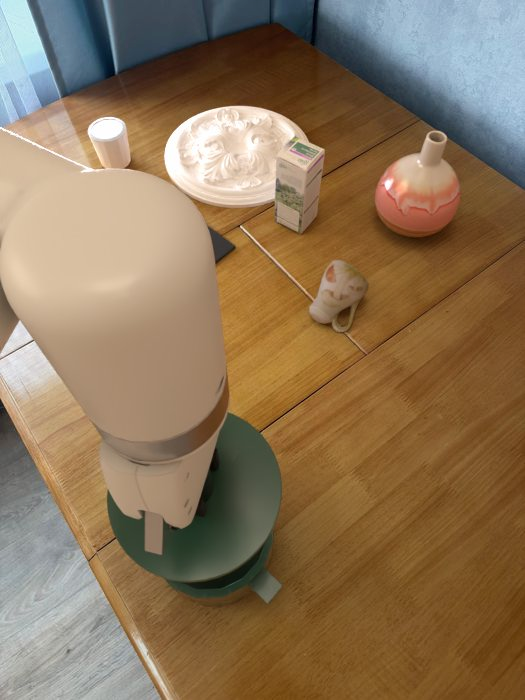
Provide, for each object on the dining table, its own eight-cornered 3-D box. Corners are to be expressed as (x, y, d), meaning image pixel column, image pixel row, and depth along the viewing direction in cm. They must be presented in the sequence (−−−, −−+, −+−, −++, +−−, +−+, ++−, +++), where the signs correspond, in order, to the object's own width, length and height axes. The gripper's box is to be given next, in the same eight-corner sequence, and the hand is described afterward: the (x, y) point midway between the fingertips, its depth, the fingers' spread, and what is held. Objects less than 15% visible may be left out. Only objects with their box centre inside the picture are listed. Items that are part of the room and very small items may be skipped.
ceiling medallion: (262, 230, 92) (262, 217, 89) (135, 171, 99) (131, 157, 97) (336, 139, 104) (338, 125, 101) (218, 93, 111) (217, 79, 109)
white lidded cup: (90, 159, 101) (80, 127, 95) (121, 143, 103) (112, 111, 97) (110, 178, 98) (101, 146, 92) (141, 161, 101) (133, 129, 95)
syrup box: (318, 215, 94) (327, 147, 81) (300, 236, 91) (306, 168, 79) (290, 202, 95) (295, 133, 83) (272, 222, 93) (274, 154, 80)
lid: (192, 626, 40) (180, 620, 34) (74, 494, 45) (47, 469, 39) (316, 487, 45) (325, 461, 40) (199, 383, 50) (191, 346, 45)
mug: (294, 319, 83) (306, 259, 78) (331, 305, 89) (344, 249, 84) (331, 339, 79) (346, 278, 74) (367, 324, 85) (383, 266, 80)
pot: (232, 651, 60) (228, 650, 51) (124, 532, 66) (105, 514, 58) (310, 558, 65) (318, 543, 56) (203, 456, 71) (195, 429, 63)
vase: (380, 186, 97) (402, 99, 82) (454, 206, 95) (491, 119, 80) (360, 238, 91) (379, 154, 76) (438, 261, 88) (475, 178, 73)
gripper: (143, 259, 33) (181, 390, 49) (23, 526, 25) (116, 578, 40) (261, 281, 32) (260, 407, 48) (178, 565, 24) (210, 603, 40)
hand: (194, 485), depth 44 cm, fingers closed on lid, 3 cm apart
